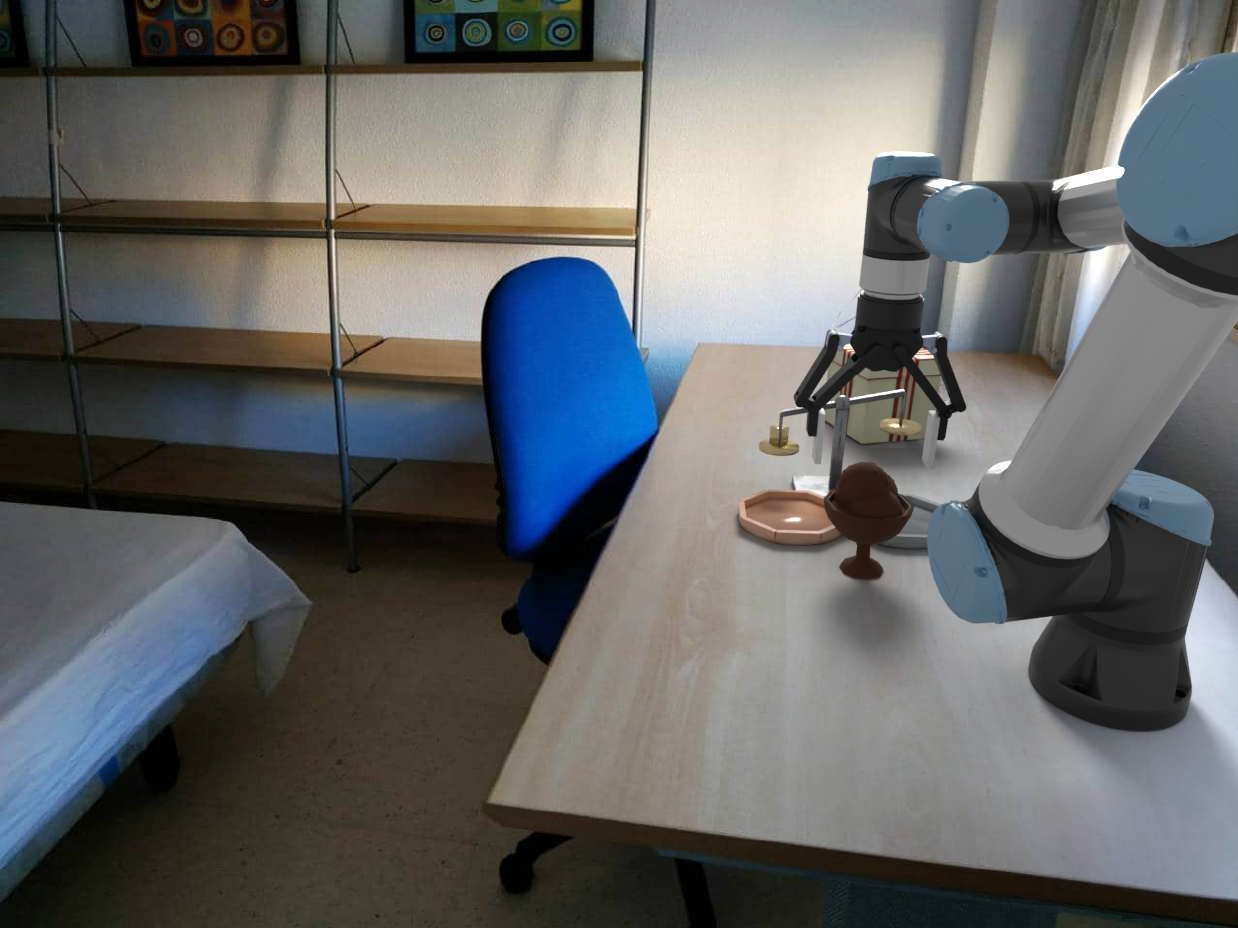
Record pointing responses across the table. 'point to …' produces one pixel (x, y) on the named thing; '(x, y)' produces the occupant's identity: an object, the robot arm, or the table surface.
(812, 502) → the terracotta dish
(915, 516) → the slate dish
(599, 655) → the table surface
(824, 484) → the balance
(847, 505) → the ice cream bowl
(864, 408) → the gift box
